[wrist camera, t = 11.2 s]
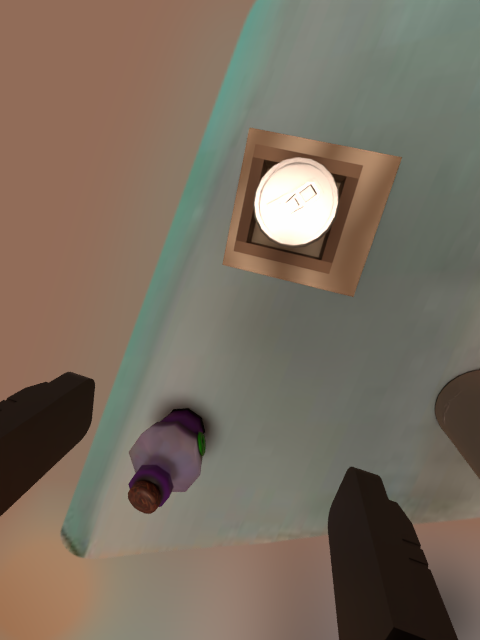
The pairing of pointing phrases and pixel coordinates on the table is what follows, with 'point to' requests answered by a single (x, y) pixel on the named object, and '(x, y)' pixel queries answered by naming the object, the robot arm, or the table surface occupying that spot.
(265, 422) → the table surface
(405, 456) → the table surface
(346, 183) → the can caddy
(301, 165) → the beer can
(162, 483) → the potion bottle
